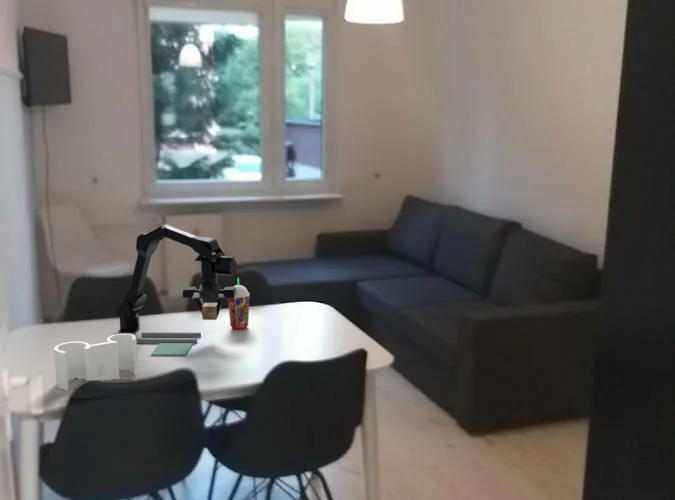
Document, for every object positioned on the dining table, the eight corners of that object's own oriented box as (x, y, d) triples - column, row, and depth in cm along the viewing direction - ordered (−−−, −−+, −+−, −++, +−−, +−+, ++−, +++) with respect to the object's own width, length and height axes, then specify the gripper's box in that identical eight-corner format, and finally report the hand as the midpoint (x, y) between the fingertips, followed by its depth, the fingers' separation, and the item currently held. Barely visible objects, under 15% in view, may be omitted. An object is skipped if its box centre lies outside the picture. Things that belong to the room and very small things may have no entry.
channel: (136, 343, 270) (135, 339, 270) (142, 336, 278) (142, 332, 278) (196, 343, 270) (196, 339, 269) (201, 336, 278) (200, 332, 278)
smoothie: (248, 331, 283) (247, 280, 279) (226, 331, 283) (225, 280, 280) (251, 325, 291) (250, 275, 288) (230, 325, 292) (229, 275, 288)
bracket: (131, 366, 246) (129, 331, 244) (141, 375, 238) (139, 339, 236) (53, 382, 232) (50, 345, 230) (61, 391, 224) (58, 353, 222)
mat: (151, 355, 256) (151, 354, 256) (159, 344, 268) (159, 343, 268) (185, 356, 256) (185, 354, 256) (192, 344, 268) (192, 343, 268)
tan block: (202, 319, 270) (202, 306, 269) (205, 315, 275) (204, 302, 274) (216, 319, 270) (215, 306, 269) (218, 315, 275) (218, 302, 274)
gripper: (178, 278, 261) (180, 321, 264) (231, 278, 261) (232, 321, 264) (185, 271, 272) (186, 312, 275) (236, 271, 272) (237, 312, 275)
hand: (210, 315), depth 272 cm, fingers closed on tan block, 5 cm apart
